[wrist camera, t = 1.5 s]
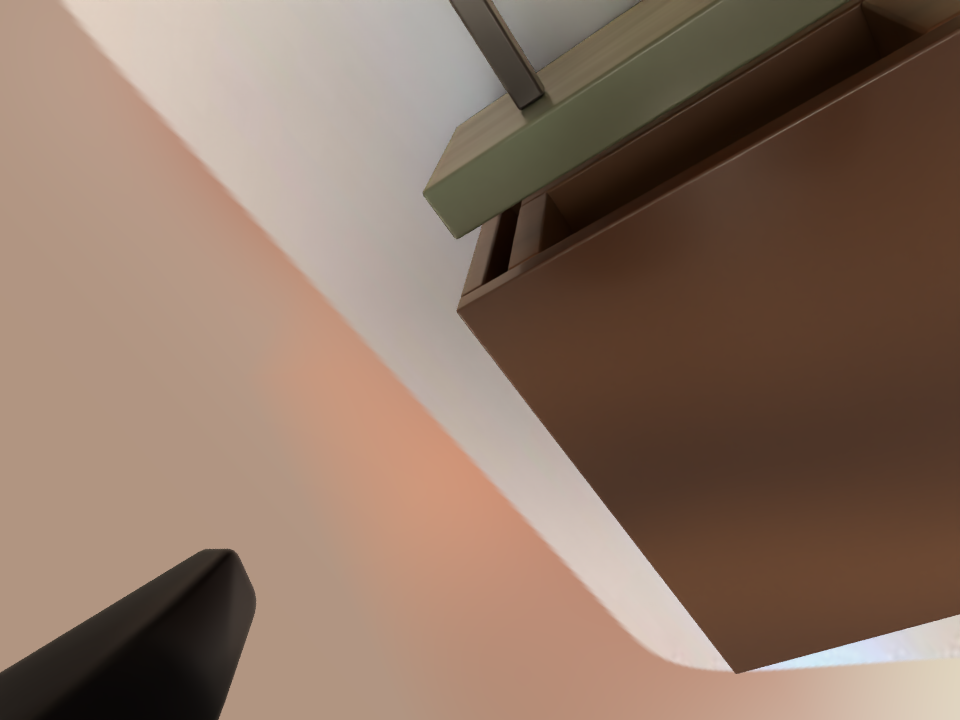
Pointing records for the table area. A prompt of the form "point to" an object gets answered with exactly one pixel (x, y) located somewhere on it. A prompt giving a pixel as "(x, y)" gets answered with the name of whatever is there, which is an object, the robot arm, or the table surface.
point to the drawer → (646, 101)
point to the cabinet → (768, 363)
